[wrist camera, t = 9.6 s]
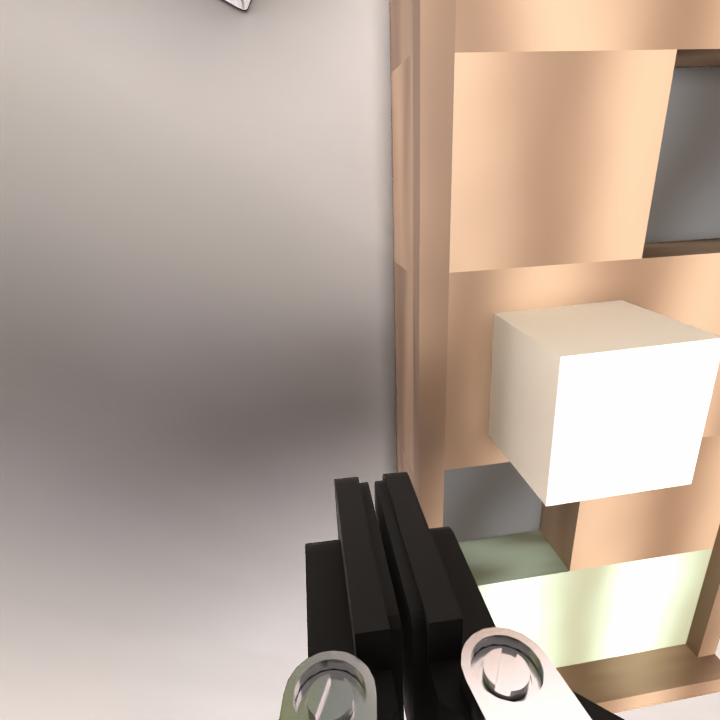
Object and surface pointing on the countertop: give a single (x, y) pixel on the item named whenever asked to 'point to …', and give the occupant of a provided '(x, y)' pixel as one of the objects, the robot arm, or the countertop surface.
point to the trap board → (559, 305)
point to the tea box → (240, 3)
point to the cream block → (599, 398)
